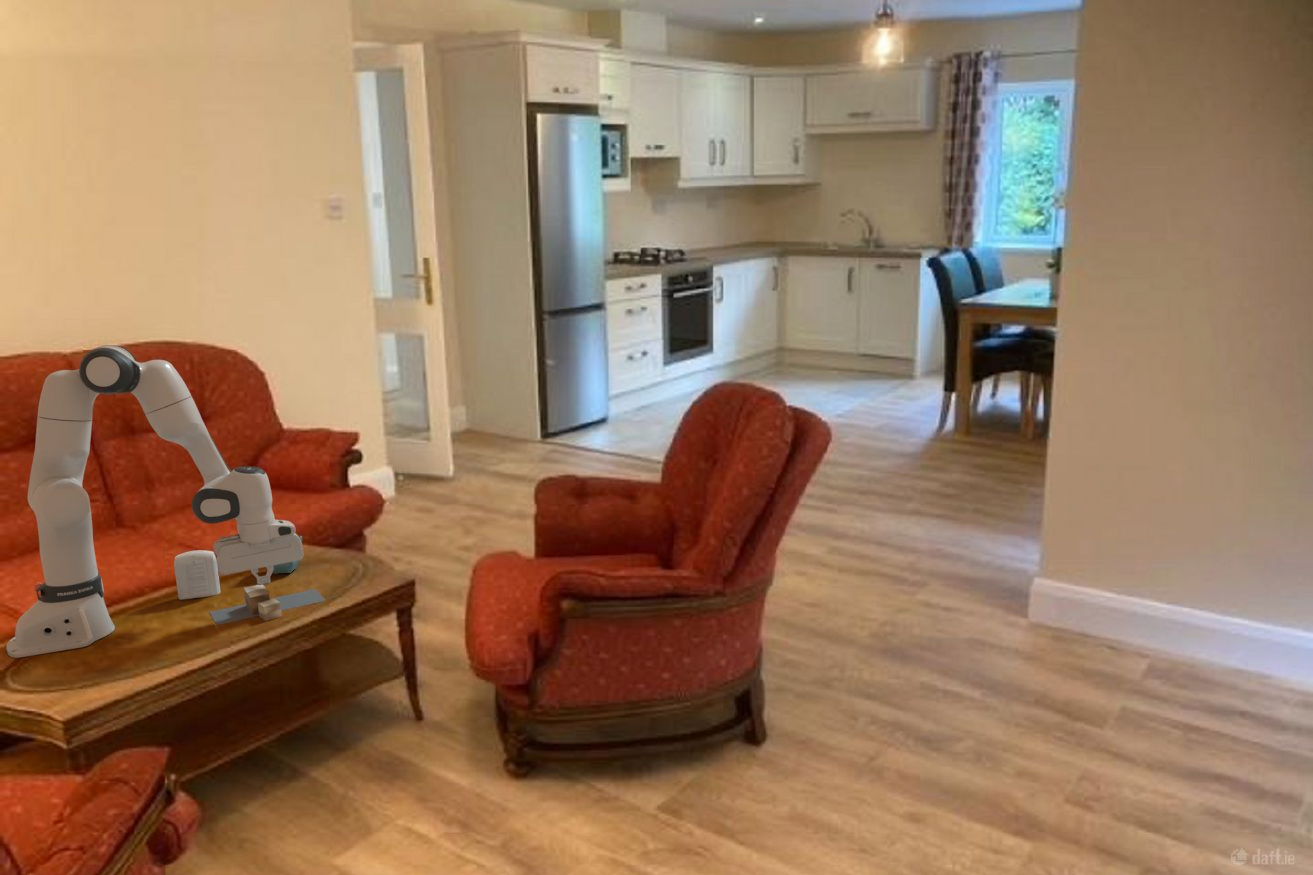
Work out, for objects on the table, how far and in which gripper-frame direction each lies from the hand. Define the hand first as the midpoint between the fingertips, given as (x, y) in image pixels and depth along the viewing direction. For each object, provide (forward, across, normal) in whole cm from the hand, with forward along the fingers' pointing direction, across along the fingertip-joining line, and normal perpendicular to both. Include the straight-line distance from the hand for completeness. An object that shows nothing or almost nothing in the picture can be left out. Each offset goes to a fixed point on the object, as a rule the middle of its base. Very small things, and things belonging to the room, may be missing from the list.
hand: (264, 583), depth 257 cm
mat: (+6, 0, 0) cm, 6 cm away
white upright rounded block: (+7, -13, +21) cm, 25 cm away
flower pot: (+7, +10, +27) cm, 30 cm away
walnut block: (+1, -2, 0) cm, 2 cm away
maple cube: (+6, -1, -8) cm, 10 cm away
